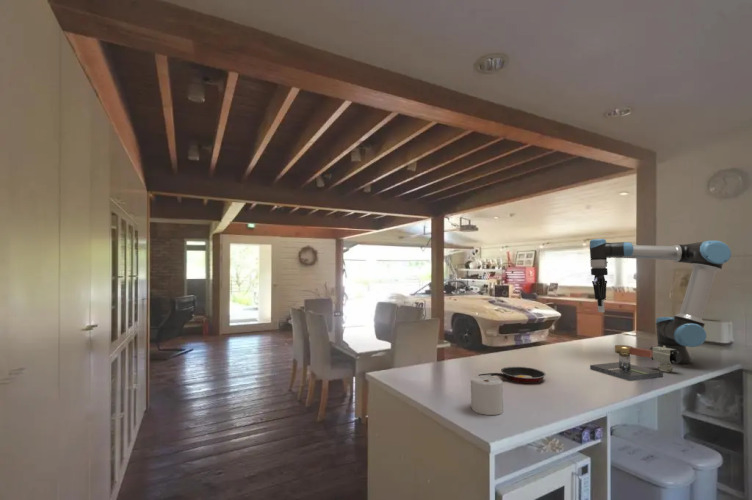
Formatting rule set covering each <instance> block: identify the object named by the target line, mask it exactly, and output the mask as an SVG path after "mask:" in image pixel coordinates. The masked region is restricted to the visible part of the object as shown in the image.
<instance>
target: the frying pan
mask: <svg viewBox="0 0 752 500" xmlns="http://www.w3.org/2000/svg"><path fill="white" fill-rule="evenodd" d="M500 371H501V372H490V373H481V374H478V375H477V376H480V375H491V377H495V376H497V377H503V378H507V379H508V380H509V381H512V382H515V383H522V384H535V383H539V382H541V381H542V380H543V379H544V378H545V377H546V375H547V373H546V372H545V371H543V370H541V369H538V368H533V367H527V366H506V367H502V368H501V369H500Z"/></svg>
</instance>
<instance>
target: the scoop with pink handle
mask: <svg viewBox="0 0 752 500" xmlns="http://www.w3.org/2000/svg"><path fill="white" fill-rule="evenodd" d="M614 352H615V353H616V354H618V355H619V354H630V356H631V355H632V356H638V357H644V358H651V357H653V351H652V350H649V349H646V348H640V347H635V346H630V345H625V344H615V345H614ZM651 359H652V358H651Z"/></svg>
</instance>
